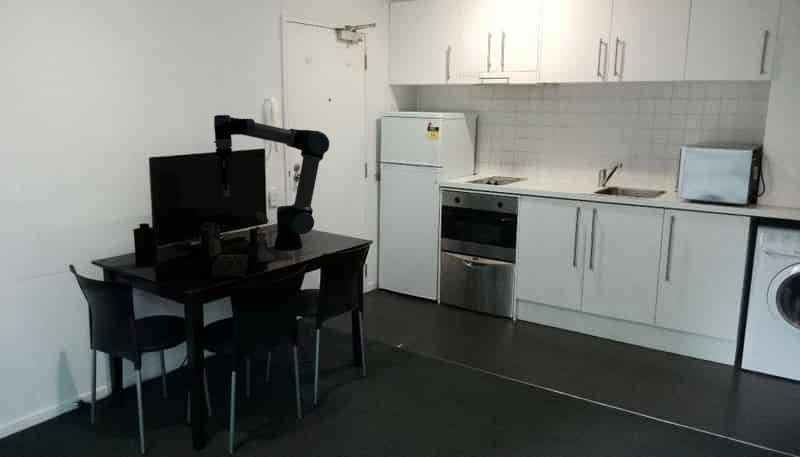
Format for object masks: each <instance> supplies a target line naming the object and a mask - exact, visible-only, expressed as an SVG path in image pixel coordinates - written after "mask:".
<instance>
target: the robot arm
mask: <svg viewBox="0 0 800 457" xmlns="http://www.w3.org/2000/svg"><path fill="white" fill-rule="evenodd" d="M213 118H214V119H213V126H214V127H213V128H214V140H213V143H214V144H215V156H216V157H218V158H219V157H220V160H219V164H220V170H221V184H222V192H223V194H222V196H223V198H229V197H230V195H231V194H230V183H231V181H230V179H229V178H230V176H229V175H230V174H229V170H230V169H229V168H230V159H228V157H233V149H232V147H233V143H232V142H233V140H232V136H236V135H237V136H240V135H241V136H245V137H246V136H247V137H250V138H255V139H260V140H265V141H268V142H269V141H270V142H274V143H279V144H285V145H286V146H287V147H290V148H293V149H297V150H298V151H301V152H300V156H301V157H302V161H301V168H300V173H299V179H298V183H297V187H296V188H297V189H296V193H295V199H294V203H293V204H291V205H290V204H289V205H280V206H277V208H276V226H277V227H276V228H277V229H276V230H277V234H276V238H275V241H274V244H273V245H274V249H276V250H280V251H294V250H300V249H302V248H303V241H302V237H301V235H306V234H308V233H309V232H311V231H312V229H313V228H314V225H315V219H314V216H313V212H314V209H313V207H312V201H313V198H314V197H313V195H314V191H315V186H316V181H317V175H318V171H319V170H318V169H319V165H320V162H321V161H323V160H324V155H325V154H326V152H328V150H329V148H330V139H329V137H328V136H327V135H326V134H325V133H324V132H322V131H319V130H313V129H312V130H310V129H295V128H289V129H287V128H281V127H277V126H273V125H269V124H264V123H259V122H256V121H255V120H254V119H253V118H247V117H246V118H239V117H238V118H237V117H232V116H231V115H230V114H216V115H215V116H214V117H213Z"/></svg>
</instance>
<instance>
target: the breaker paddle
mask: <svg viewBox="0 0 800 457" xmlns="http://www.w3.org/2000/svg"><path fill="white" fill-rule="evenodd" d="M227 255H228V256H227V261H233V260H234V257H233V255H234V254H227Z"/></svg>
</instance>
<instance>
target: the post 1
mask: <svg viewBox="0 0 800 457" xmlns="http://www.w3.org/2000/svg"><path fill="white" fill-rule="evenodd" d="M201 245H202V253H201V261H202V263H201V266H202V273H210V272H212V269H211V267H212V265H211V256H210V242H209V229H201V234H200V246H201Z"/></svg>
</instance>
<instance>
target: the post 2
mask: <svg viewBox="0 0 800 457" xmlns="http://www.w3.org/2000/svg"><path fill="white" fill-rule="evenodd" d="M258 231H259V230H258V229H256V227H255V228H249V248H250V250H249V251H250V271H251V272H259V271H260V270H259V268H260V267H259V262H258V250H259V237H258V234H259V232H258Z"/></svg>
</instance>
